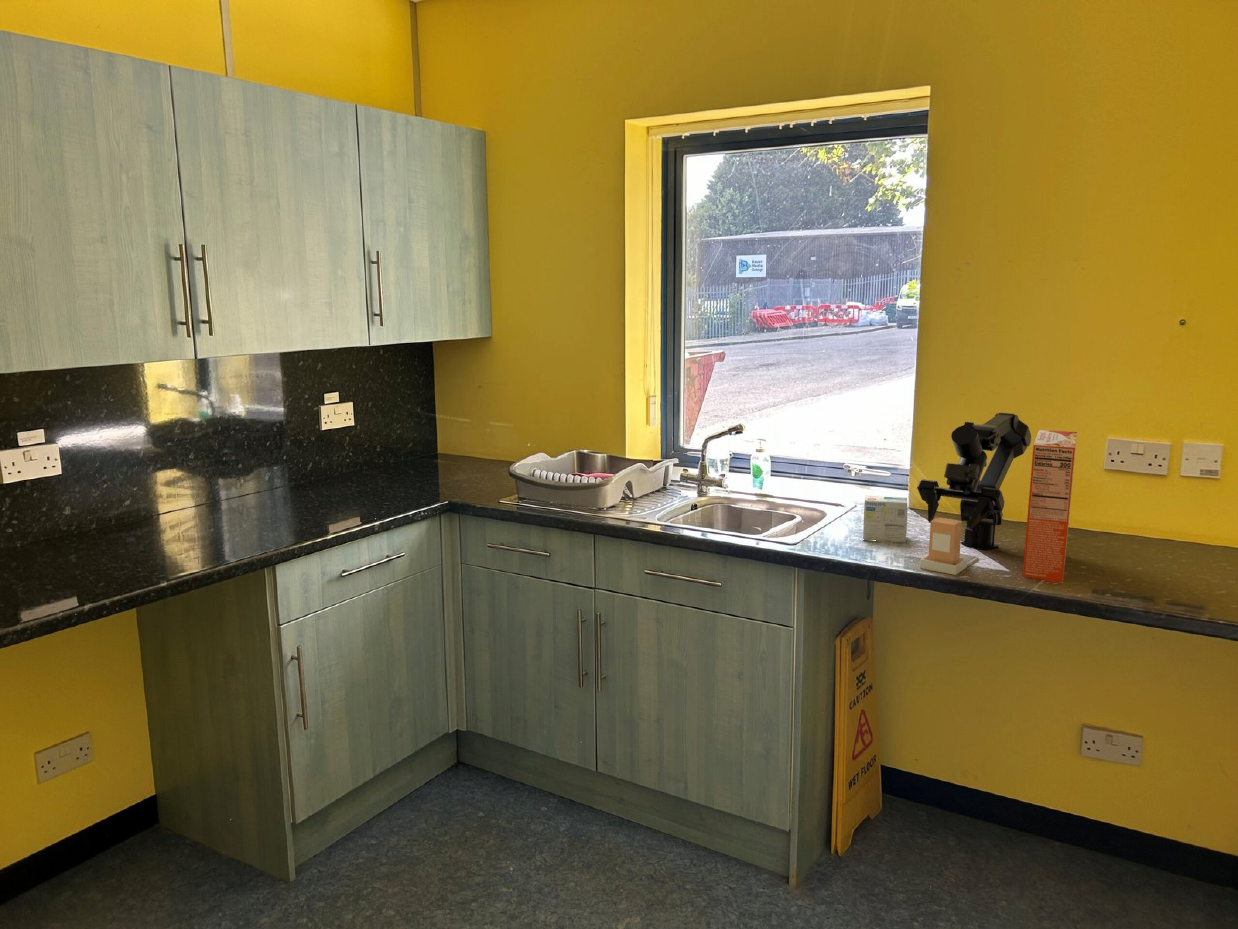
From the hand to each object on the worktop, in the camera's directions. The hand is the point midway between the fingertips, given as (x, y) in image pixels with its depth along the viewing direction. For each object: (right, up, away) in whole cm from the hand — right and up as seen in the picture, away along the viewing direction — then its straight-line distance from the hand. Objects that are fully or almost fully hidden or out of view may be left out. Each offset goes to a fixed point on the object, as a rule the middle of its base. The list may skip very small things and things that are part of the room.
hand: (949, 525), depth 211 cm
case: (-1, -10, 0) cm, 10 cm away
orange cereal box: (+23, -10, +2) cm, 25 cm away
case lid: (+4, -9, +7) cm, 12 cm away
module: (-1, -10, 0) cm, 10 cm away
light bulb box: (-8, -6, +26) cm, 27 cm away
